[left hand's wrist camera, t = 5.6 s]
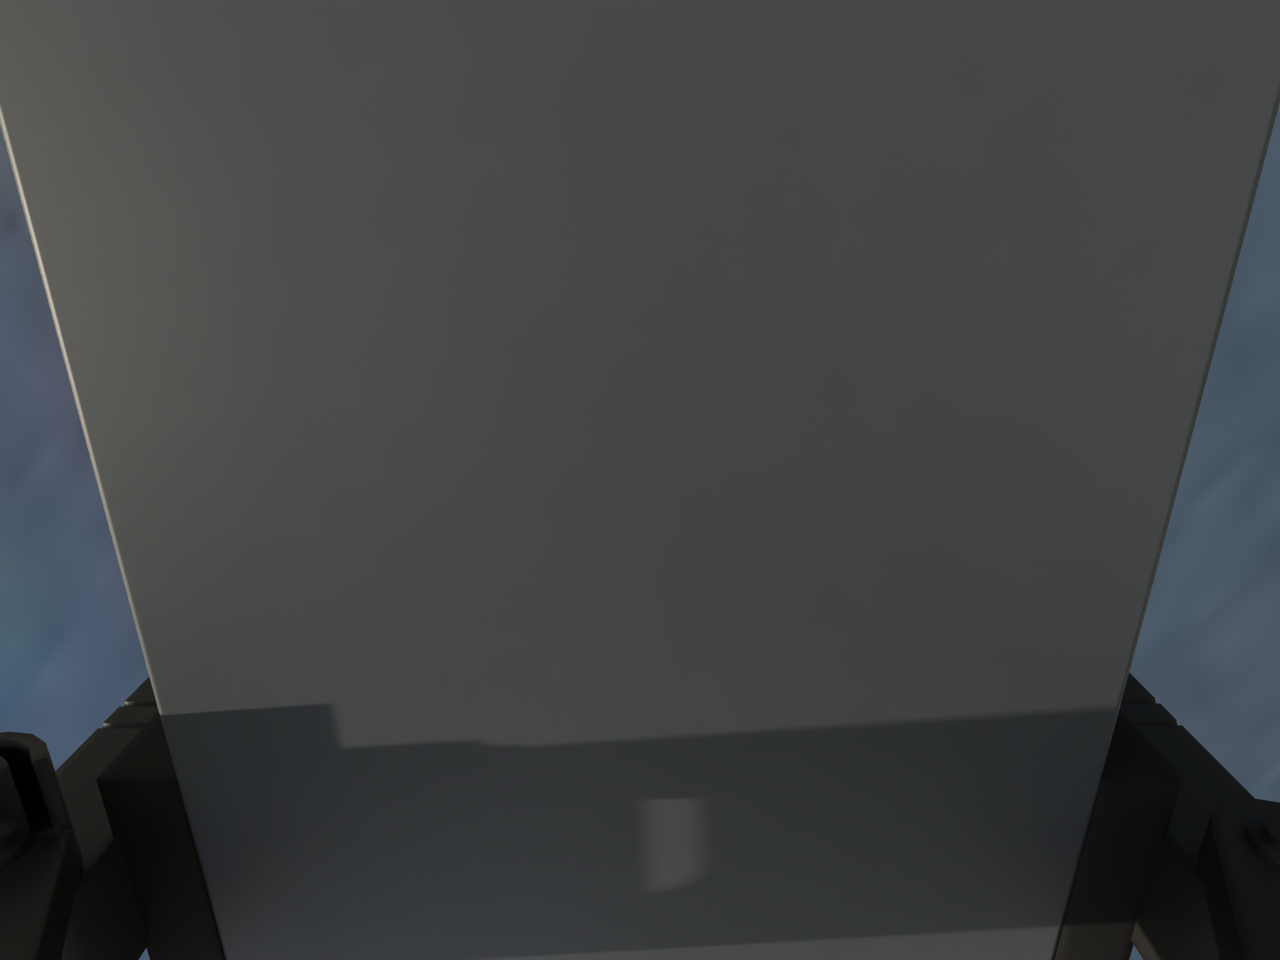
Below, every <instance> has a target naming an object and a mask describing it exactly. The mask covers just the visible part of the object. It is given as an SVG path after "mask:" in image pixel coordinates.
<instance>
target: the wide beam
mask: <svg viewBox="0 0 1280 960" xmlns="http://www.w3.org/2000/svg"><path fill="white" fill-rule="evenodd" d="M1279 102H1280V0H0V124H1V127H2V131H3V135H4V139H5V142H6V146H7V150H8V153H9V157H10V161H11V165H12V168H13V172H14V176H15V179H16V183H17V187H18V190H19V194H20V198H21V202H22V205H23V209H24V213H25V216H26V220H27V224H28V228H29V231H30V235H31V239H32V242H33V246H34V250H35V254H36V257H37V261H38V265H39V268H40V272H41V276H42V280H43V283H44V287H45V291H46V294H47V298H48V302H49V306H50V309H51V313H52V317H53V320H54V324H55V328H56V331H57V335H58V339H59V343H60V346H61V350H62V354H63V357H64V361H65V365H66V369H67V372H68V376H69V380H70V383H71V387H72V391H73V395H74V398H75V402H76V406H77V409H78V413H79V417H80V421H81V424H82V428H83V432H84V435H85V439H86V443H87V447H88V450H89V454H90V458H91V461H92V465H93V469H94V472H95V476H96V480H97V484H98V487H99V491H100V495H101V498H102V502H103V506H104V510H105V513H106V517H107V521H108V524H109V528H110V532H111V536H112V539H113V543H114V547H115V550H116V554H117V558H118V562H119V565H120V569H121V573H122V576H123V580H124V584H125V587H126V591H127V595H128V599H129V602H130V606H131V610H132V613H133V617H134V621H135V625H136V628H137V632H138V636H139V639H140V643H141V647H142V651H143V654H144V658H145V662H146V665H147V669H148V673H149V677H150V680H151V684H152V688H153V691H154V695H155V699H156V703H157V706H158V710H159V714H160V717H161V721H162V725H163V728H164V732H165V736H166V740H167V743H168V747H169V751H170V754H171V758H172V762H173V766H174V769H175V773H176V777H177V780H178V784H179V788H180V792H181V795H182V799H183V803H184V806H185V810H186V814H187V818H188V821H189V825H190V829H191V832H192V836H193V840H194V844H195V847H196V851H197V855H198V858H199V862H200V866H201V869H202V873H203V877H204V881H205V884H206V888H207V892H208V895H209V899H210V903H211V907H212V910H213V914H214V918H215V921H216V925H217V929H218V933H219V936H220V940H221V944H222V947H223V951H224V955H225V959H226V960H1053V959H1054V955H1055V951H1056V948H1057V944H1058V940H1059V936H1060V932H1061V929H1062V925H1063V921H1064V917H1065V913H1066V910H1067V906H1068V902H1069V898H1070V894H1071V891H1072V887H1073V883H1074V879H1075V876H1076V872H1077V868H1078V864H1079V860H1080V857H1081V853H1082V849H1083V845H1084V841H1085V838H1086V834H1087V830H1088V826H1089V822H1090V819H1091V815H1092V811H1093V807H1094V804H1095V800H1096V796H1097V792H1098V788H1099V785H1100V781H1101V777H1102V773H1103V769H1104V766H1105V762H1106V758H1107V754H1108V750H1109V747H1110V743H1111V739H1112V735H1113V731H1114V728H1115V724H1116V720H1117V716H1118V713H1119V709H1120V705H1121V701H1122V697H1123V694H1124V690H1125V686H1126V682H1127V678H1128V675H1129V671H1130V667H1131V663H1132V659H1133V656H1134V652H1135V648H1136V644H1137V641H1138V637H1139V633H1140V629H1141V625H1142V622H1143V618H1144V614H1145V610H1146V606H1147V603H1148V599H1149V595H1150V591H1151V587H1152V584H1153V580H1154V576H1155V572H1156V569H1157V565H1158V561H1159V557H1160V553H1161V550H1162V546H1163V542H1164V538H1165V534H1166V531H1167V527H1168V523H1169V519H1170V515H1171V512H1172V508H1173V504H1174V500H1175V496H1176V493H1177V489H1178V485H1179V481H1180V478H1181V474H1182V470H1183V466H1184V462H1185V459H1186V455H1187V451H1188V447H1189V443H1190V440H1191V436H1192V432H1193V428H1194V424H1195V421H1196V417H1197V413H1198V409H1199V406H1200V402H1201V398H1202V394H1203V390H1204V387H1205V383H1206V379H1207V375H1208V371H1209V368H1210V364H1211V360H1212V356H1213V352H1214V349H1215V345H1216V341H1217V337H1218V334H1219V330H1220V326H1221V322H1222V318H1223V315H1224V311H1225V307H1226V303H1227V299H1228V296H1229V292H1230V288H1231V284H1232V280H1233V277H1234V273H1235V269H1236V265H1237V262H1238V258H1239V254H1240V250H1241V246H1242V243H1243V239H1244V235H1245V231H1246V227H1247V224H1248V220H1249V216H1250V212H1251V208H1252V205H1253V201H1254V197H1255V193H1256V189H1257V186H1258V182H1259V178H1260V174H1261V171H1262V167H1263V163H1264V159H1265V155H1266V152H1267V148H1268V144H1269V140H1270V136H1271V133H1272V129H1273V125H1274V121H1275V117H1276V114H1277V110H1278V106H1279Z"/></svg>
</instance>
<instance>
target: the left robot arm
mask: <svg viewBox="0 0 1280 960" xmlns="http://www.w3.org/2000/svg"><path fill="white" fill-rule="evenodd" d="M103 724H104V725H103V728H102V729H97V730H96V731H95V732H94V733H93V734H92V735H91V736H90V737H89V738H88V739H87V740H86V741H85V742H84V743H83V744H82V745H81V746H80V747H79V748H78V749H77V750H76V751H75V752H74V753H73V754H72V755H71V756H70V757H69V758H68V759H67V760H66V761H65V762H64V763H63V764H62V765H61V766H60V767H59V768H58V769H57V770H56V771H55V770H54V767H53V764H52V761H51V757H50V754H49V751H48V748H47V745H46V743H45V742H44V741H42V740H41V739H39V738H38V737H36V736H35V735H33V734H27V733H17V732H3V733H0V960H139V958H140V956H141V955H142V953H143V952H144V950H145V949H146V947H147V951H148V954H149V957H150V960H226V959H225V955H224V951H223V947H222V944H221V940H220V936H219V933H218V929H217V925H216V921H215V918H214V914H213V910H212V907H211V903H210V899H209V895H208V892H207V888H206V884H205V881H204V877H203V873H202V869H201V866H200V862H199V858H198V855H197V851H196V847H195V844H194V840H193V836H192V832H191V829H190V825H189V821H188V818H187V814H186V810H185V806H184V803H183V799H182V795H181V792H180V788H179V784H178V780H177V777H176V773H175V769H174V766H173V762H172V758H171V754H170V751H169V747H168V743H167V740H166V736H165V732H164V728H163V725H162V721H161V717H160V714H159V710H158V706H157V703H156V699H155V695H154V691H153V688H152V684H151V680H150V677H148V678H147V679H146V680H145V681H144V682H143V683H142V684H141V685H140V687H139V688H138V689H137V690H136V691H135V692H134V693H133V694H132V695H131V696H130V697H129V698H128V699H127V700H126V701H125V705H124V707H119V708H118V709H117V710H116V711H115V712H114V713H113V714H112V715H111V716H110V717H109V718H108V719H107V720H106V721H105V722H104V723H103ZM1133 945H1134V946H1135V947H1136V949H1137V950H1138V952H1139V953H1140V955H1141V956H1142V958H1143V959H1144V960H1280V803H1278V802H1273V801H1266V800H1260V799H1255V798H1254V797H1253V796H1252V795H1251V794H1250V793H1249V792H1248V791H1247V790H1246V789H1245V788H1244V787H1243V786H1242V785H1241V784H1240V783H1239V782H1238V781H1237V780H1236V779H1235V778H1234V777H1233V776H1232V775H1231V774H1230V773H1229V772H1228V771H1227V770H1226V769H1225V768H1224V767H1223V766H1222V765H1221V764H1220V763H1219V762H1218V761H1217V760H1216V759H1215V758H1214V757H1213V756H1212V755H1211V754H1210V753H1209V752H1208V751H1207V750H1206V749H1205V748H1204V747H1203V746H1202V745H1201V744H1200V743H1199V742H1198V741H1197V740H1196V739H1195V738H1194V737H1193V736H1192V735H1191V734H1190V733H1189V732H1188V731H1187V730H1186V729H1185V728H1184V727H1183V726H1178V725H1177V723H1176V719H1175V718H1174V717H1173V716H1172V715H1171V714H1170V713H1169V712H1168V711H1167V710H1166V709H1165V708H1164V707H1163V706H1162V705H1161V704H1156V703H1155V698H1154V697H1153V696H1152V695H1151V694H1150V693H1149V692H1148V691H1147V690H1146V689H1145V688H1144V687H1143V686H1142V685H1141V684H1140V683H1139V682H1138V681H1137V680H1136V679H1135V678H1134V677H1133V676H1132V675H1131V674H1130V673H1129V675H1128V678H1127V682H1126V686H1125V690H1124V694H1123V697H1122V701H1121V705H1120V709H1119V713H1118V716H1117V720H1116V724H1115V728H1114V731H1113V735H1112V739H1111V743H1110V747H1109V750H1108V754H1107V758H1106V762H1105V766H1104V769H1103V773H1102V777H1101V781H1100V785H1099V788H1098V792H1097V796H1096V800H1095V804H1094V807H1093V811H1092V815H1091V819H1090V822H1089V826H1088V830H1087V834H1086V838H1085V841H1084V845H1083V849H1082V853H1081V857H1080V860H1079V864H1078V868H1077V872H1076V876H1075V879H1074V883H1073V887H1072V891H1071V894H1070V898H1069V902H1068V906H1067V910H1066V913H1065V917H1064V921H1063V925H1062V929H1061V932H1060V936H1059V940H1058V944H1057V948H1056V951H1055V955H1054V959H1053V960H1129V958H1130V954H1131V951H1132V948H1133Z"/></svg>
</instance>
